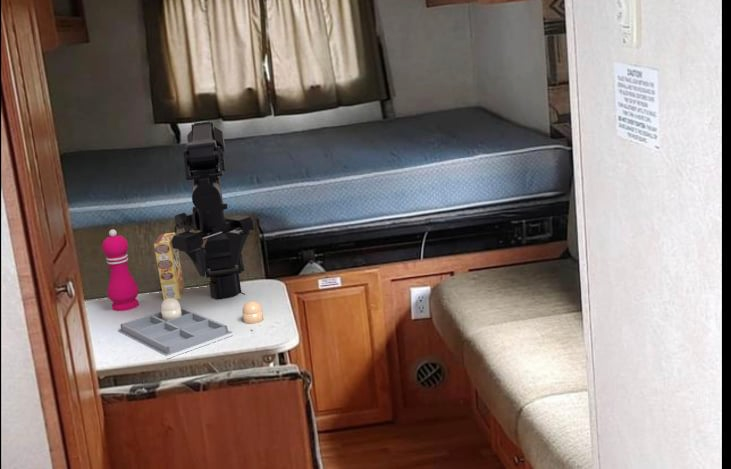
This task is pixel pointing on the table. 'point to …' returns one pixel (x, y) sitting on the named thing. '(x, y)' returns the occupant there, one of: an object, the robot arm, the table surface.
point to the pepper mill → (119, 273)
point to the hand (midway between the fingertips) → (219, 270)
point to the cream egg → (170, 309)
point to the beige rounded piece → (252, 313)
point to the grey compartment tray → (174, 331)
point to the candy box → (169, 267)
